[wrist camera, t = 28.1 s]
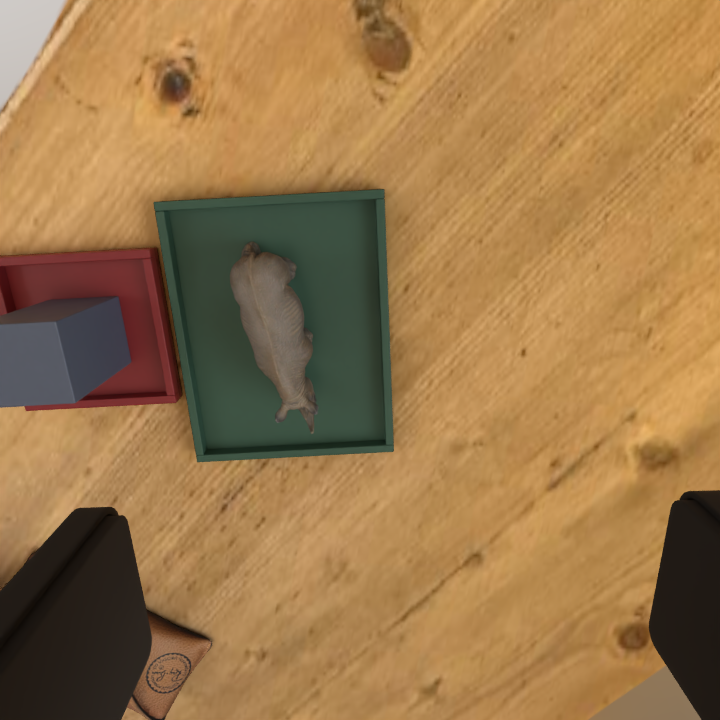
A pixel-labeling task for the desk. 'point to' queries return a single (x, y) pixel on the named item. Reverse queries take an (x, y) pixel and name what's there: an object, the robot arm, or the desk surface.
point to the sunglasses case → (166, 667)
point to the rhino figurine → (275, 327)
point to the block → (60, 350)
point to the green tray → (321, 317)
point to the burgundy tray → (138, 306)
